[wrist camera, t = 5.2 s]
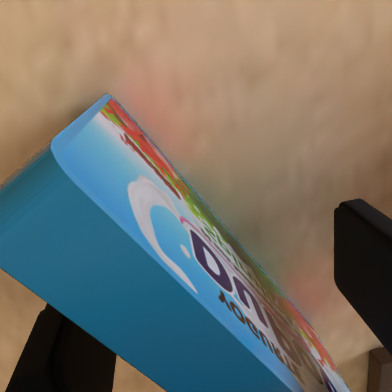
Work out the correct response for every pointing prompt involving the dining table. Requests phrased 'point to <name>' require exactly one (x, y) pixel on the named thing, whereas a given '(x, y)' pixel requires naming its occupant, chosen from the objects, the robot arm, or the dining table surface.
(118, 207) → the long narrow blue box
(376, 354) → the walnut board
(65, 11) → the dining table surface
